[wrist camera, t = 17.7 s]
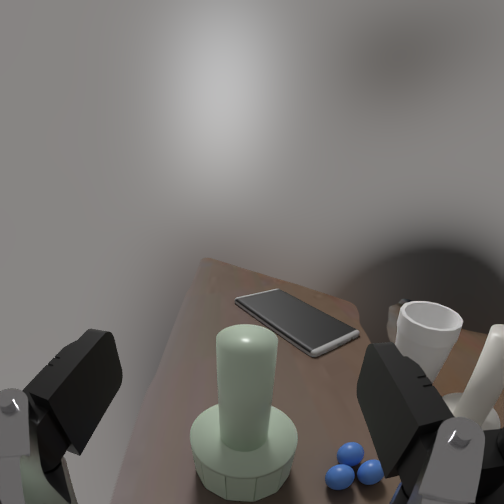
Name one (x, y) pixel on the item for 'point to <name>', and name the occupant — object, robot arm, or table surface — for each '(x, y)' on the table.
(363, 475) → the marble
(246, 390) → the pale green pedestal post
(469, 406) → the white joystick
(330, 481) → the marble
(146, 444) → the table surface
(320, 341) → the smartphone
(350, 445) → the marble
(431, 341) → the foam cup
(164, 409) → the table surface
